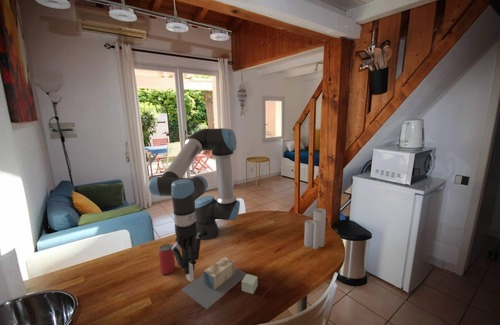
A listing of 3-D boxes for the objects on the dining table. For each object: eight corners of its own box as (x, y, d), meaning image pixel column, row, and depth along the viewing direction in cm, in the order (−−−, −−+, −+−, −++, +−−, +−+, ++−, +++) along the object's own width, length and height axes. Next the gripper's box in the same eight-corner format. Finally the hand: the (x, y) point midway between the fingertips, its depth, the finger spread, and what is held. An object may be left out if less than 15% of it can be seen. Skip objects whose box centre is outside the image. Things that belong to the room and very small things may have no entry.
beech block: (203, 271, 96) (225, 256, 106) (204, 283, 97) (225, 268, 107) (213, 277, 92) (234, 261, 102) (213, 290, 93) (234, 273, 103)
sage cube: (241, 292, 93) (241, 281, 92) (246, 283, 98) (246, 273, 97) (253, 295, 91) (252, 284, 90) (257, 287, 96) (257, 276, 95)
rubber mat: (181, 290, 94) (180, 289, 94) (222, 262, 112) (222, 260, 112) (206, 310, 84) (206, 309, 84) (247, 275, 103) (247, 274, 102)
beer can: (178, 267, 109) (176, 244, 106) (169, 276, 103) (166, 252, 100) (166, 264, 111) (164, 242, 109) (157, 273, 105) (154, 249, 102)
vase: (318, 239, 132) (320, 207, 128) (327, 246, 125) (329, 211, 121) (302, 243, 127) (303, 210, 124) (310, 250, 121) (311, 215, 117)
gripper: (175, 233, 75) (181, 294, 80) (206, 218, 85) (209, 274, 90) (163, 226, 79) (169, 284, 84) (193, 213, 89) (197, 266, 94)
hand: (190, 279), depth 87 cm, fingers closed
